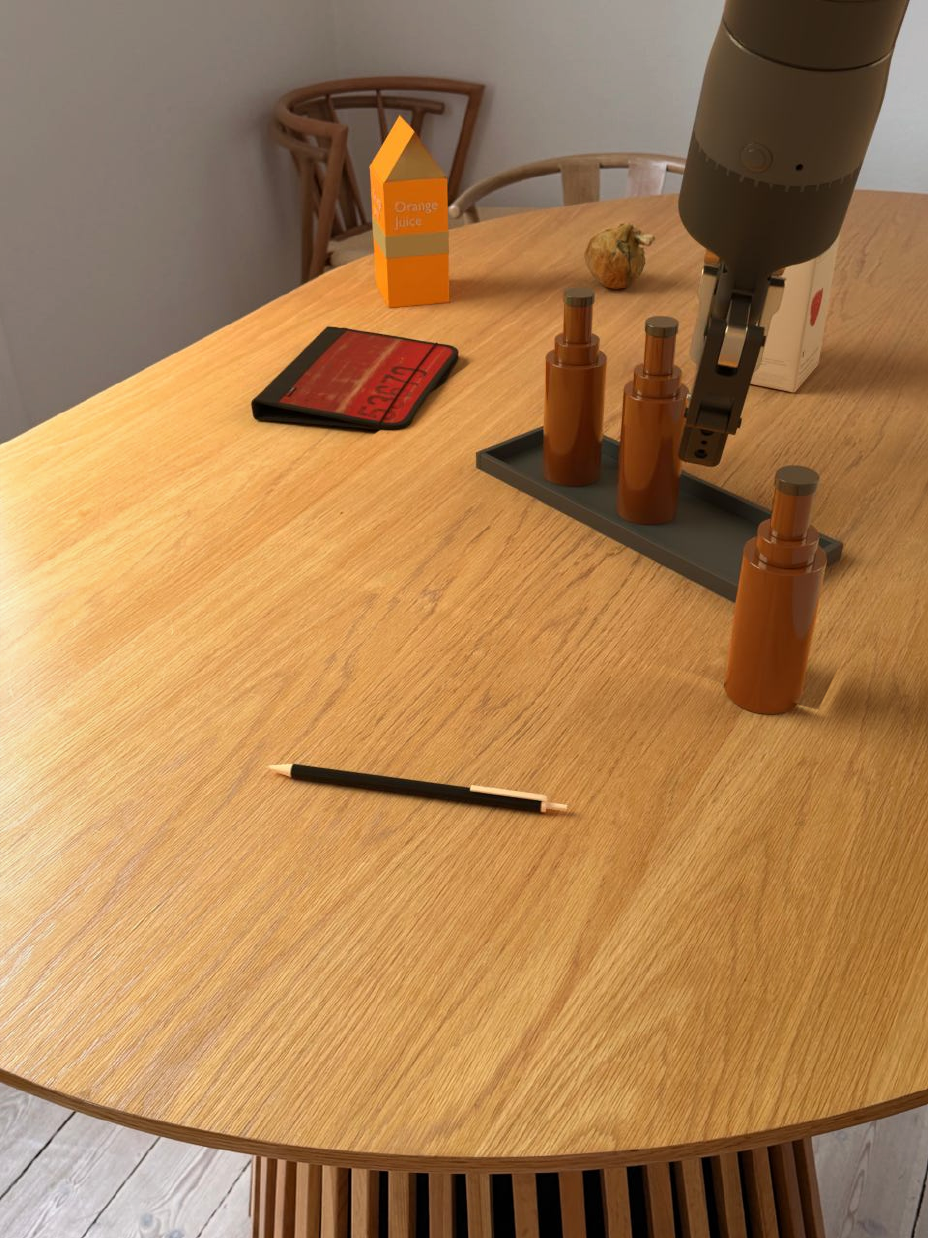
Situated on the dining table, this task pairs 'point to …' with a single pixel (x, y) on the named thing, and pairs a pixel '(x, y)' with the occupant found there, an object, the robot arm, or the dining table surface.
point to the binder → (356, 381)
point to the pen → (421, 787)
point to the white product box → (798, 324)
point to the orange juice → (409, 221)
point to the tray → (687, 544)
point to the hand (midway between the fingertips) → (707, 404)
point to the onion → (617, 255)
